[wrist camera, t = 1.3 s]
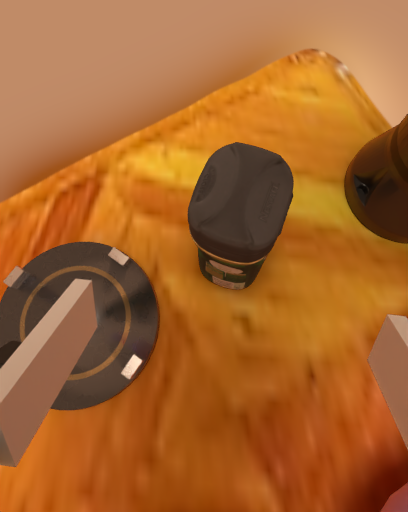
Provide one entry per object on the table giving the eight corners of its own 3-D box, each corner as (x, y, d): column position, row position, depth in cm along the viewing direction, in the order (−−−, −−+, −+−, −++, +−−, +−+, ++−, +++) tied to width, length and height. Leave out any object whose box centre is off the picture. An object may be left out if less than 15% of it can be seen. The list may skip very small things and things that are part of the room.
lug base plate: (190, 300, 41) (188, 296, 38) (90, 445, 37) (79, 453, 34) (72, 218, 44) (61, 209, 41) (-31, 342, 40) (-50, 342, 38)
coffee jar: (216, 211, 44) (215, 120, 26) (272, 230, 43) (312, 148, 25) (190, 277, 41) (169, 228, 24) (249, 298, 40) (274, 264, 23)
